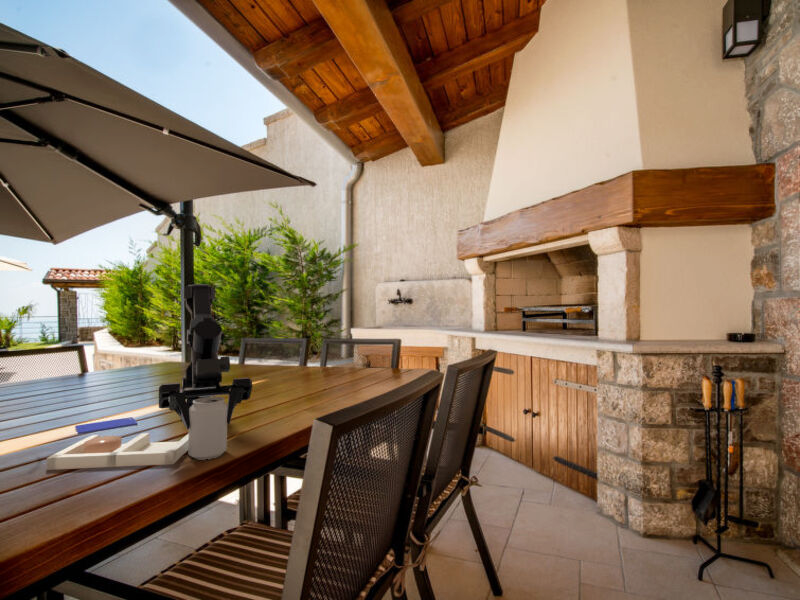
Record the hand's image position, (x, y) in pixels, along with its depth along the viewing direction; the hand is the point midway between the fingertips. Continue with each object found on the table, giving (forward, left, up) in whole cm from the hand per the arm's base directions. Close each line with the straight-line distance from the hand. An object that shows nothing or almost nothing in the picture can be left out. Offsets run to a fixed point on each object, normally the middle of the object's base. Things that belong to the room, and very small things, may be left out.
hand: (208, 425), depth 85 cm
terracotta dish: (+3, -22, -6) cm, 23 cm away
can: (-1, -1, -7) cm, 7 cm away
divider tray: (+2, -17, -7) cm, 18 cm away
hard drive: (-15, -39, -7) cm, 42 cm away
